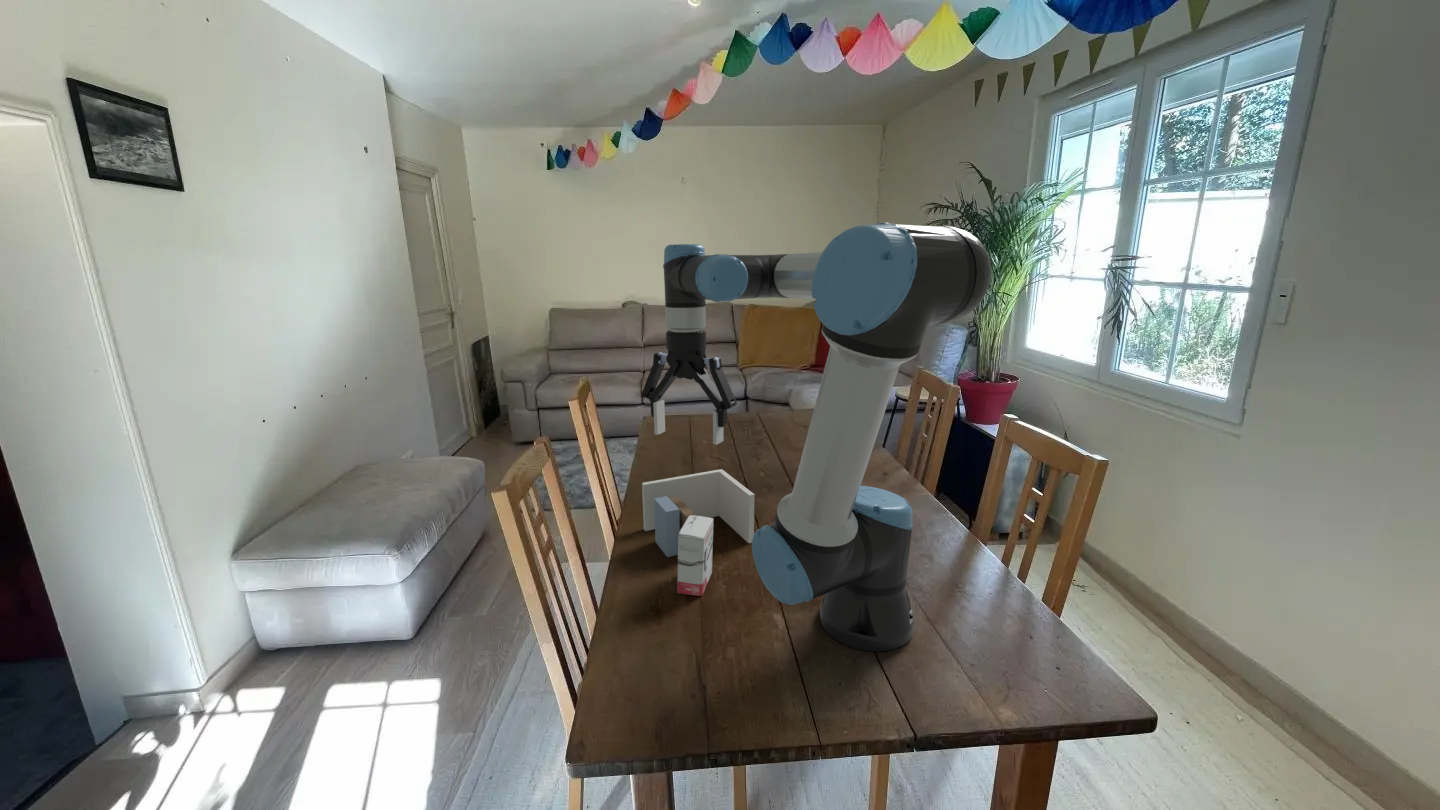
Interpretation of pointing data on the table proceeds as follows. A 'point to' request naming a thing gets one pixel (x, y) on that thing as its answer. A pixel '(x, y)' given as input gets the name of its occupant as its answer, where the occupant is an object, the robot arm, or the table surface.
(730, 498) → the white corner wall
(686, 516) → the bookend
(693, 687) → the table surface
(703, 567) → the ink box
